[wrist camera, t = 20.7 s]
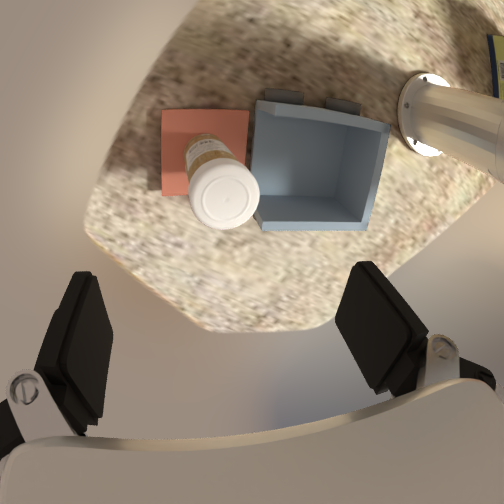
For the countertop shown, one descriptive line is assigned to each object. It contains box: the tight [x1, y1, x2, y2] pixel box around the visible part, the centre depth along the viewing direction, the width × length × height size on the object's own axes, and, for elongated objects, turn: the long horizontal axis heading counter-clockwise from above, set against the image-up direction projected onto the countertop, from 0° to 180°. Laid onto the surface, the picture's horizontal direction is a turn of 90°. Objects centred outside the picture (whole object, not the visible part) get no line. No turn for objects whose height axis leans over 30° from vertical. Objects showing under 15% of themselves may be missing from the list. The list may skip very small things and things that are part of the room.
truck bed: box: [249, 88, 391, 231], centre depth 29 cm, size 12×15×8 cm
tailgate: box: [161, 109, 249, 196], centre depth 29 cm, size 1×9×9 cm
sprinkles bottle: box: [183, 133, 260, 230], centre depth 23 cm, size 5×5×13 cm
